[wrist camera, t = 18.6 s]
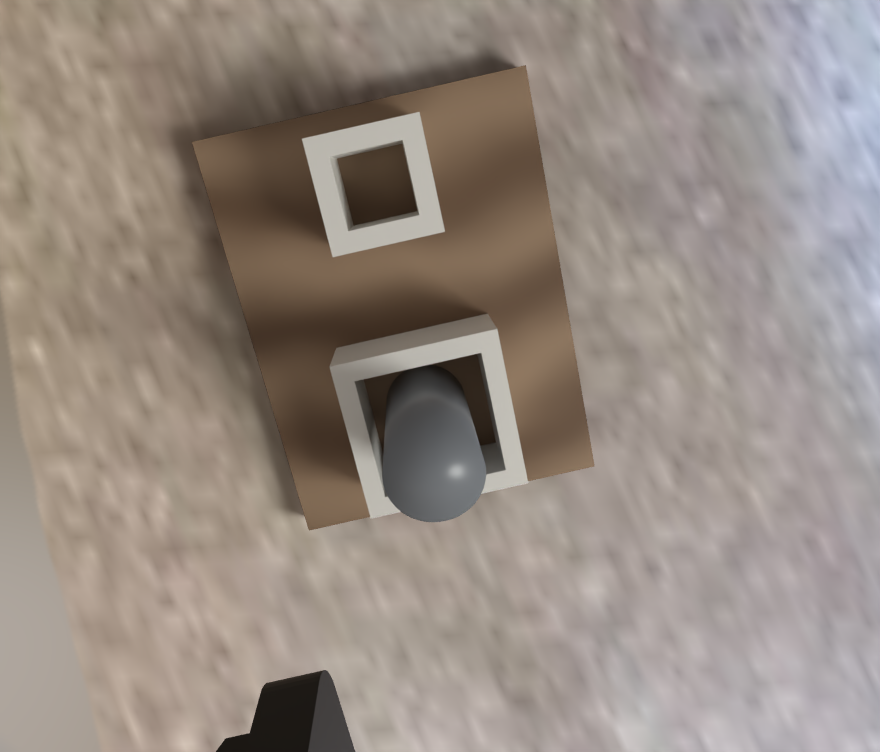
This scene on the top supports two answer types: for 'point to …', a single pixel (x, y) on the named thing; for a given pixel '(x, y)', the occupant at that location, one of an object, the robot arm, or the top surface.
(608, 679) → the top surface
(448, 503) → the capsule
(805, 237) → the top surface
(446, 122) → the board
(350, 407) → the socket fittings
